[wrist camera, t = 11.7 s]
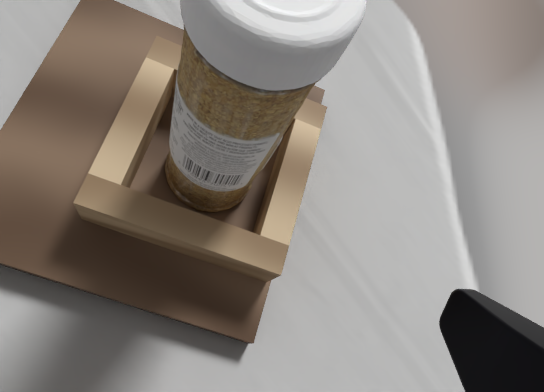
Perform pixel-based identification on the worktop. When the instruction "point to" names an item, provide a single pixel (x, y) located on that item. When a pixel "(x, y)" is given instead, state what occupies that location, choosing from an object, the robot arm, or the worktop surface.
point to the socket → (138, 182)
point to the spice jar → (246, 87)
